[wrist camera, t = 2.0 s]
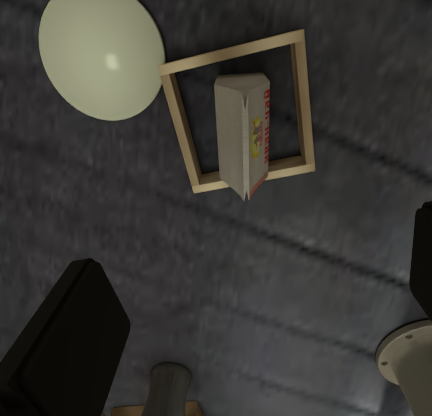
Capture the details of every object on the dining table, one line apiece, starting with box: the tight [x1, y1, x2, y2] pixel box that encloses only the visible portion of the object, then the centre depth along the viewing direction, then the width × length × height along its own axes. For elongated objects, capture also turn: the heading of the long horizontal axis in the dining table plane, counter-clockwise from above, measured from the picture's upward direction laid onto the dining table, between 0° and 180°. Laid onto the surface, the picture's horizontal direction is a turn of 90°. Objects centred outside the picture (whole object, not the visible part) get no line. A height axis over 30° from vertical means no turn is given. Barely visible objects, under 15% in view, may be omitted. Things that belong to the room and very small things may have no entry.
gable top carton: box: [214, 72, 270, 201], centre depth 23 cm, size 4×7×10 cm, turn 4°
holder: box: [157, 29, 315, 193], centre depth 26 cm, size 11×11×2 cm
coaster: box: [39, 0, 166, 120], centre depth 25 cm, size 10×10×1 cm
